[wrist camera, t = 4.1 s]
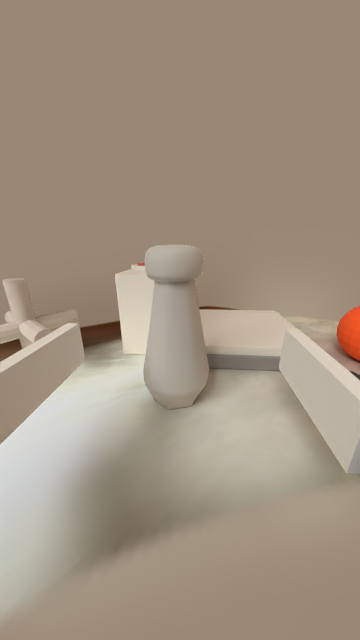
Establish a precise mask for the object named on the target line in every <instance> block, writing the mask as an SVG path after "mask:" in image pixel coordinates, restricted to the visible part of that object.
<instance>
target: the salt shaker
mask: <svg viewBox="0 0 360 640" xmlns="http://www.w3.org/2000/svg"><path fill="white" fill-rule="evenodd" d="M145 270H146V274H147V277H148V278H150V279H152V280H154V281H155V282H154V291H153V301H152V310H151V319H150V326H149V334H148V341H147V349H146V356H145V363H144V381H145V385H146V386H147V388H148V390H149V391H150V393H151V395H152V396H153V398H154V400H155V401H157V402H158V403H160V404H162V405H163V406H165V407H166V408H168V409H170V410H171V409H178V408H184V407H190V406H191V405H192V404H193V402H194V400H195V399H196V398H197V396H198V395H199V394H200V392H201V391H202V389H203V388H204V387H205V385H206V383H207V379H208V374H209V366H208V359H207V353H206V347H205V341H204V335H203V329H202V323H201V317H200V311H199V305H198V299H197V293H196V287H195V280H194V279H196V278H199V277H200V276H201V274H202V271H203V256H202V252H201V251H200V250H199V249H198V248H196V247H193V246H189V245H159V246H154V247H152V248H150V249H149V250H148V251H147V252H146V255H145Z"/></svg>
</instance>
